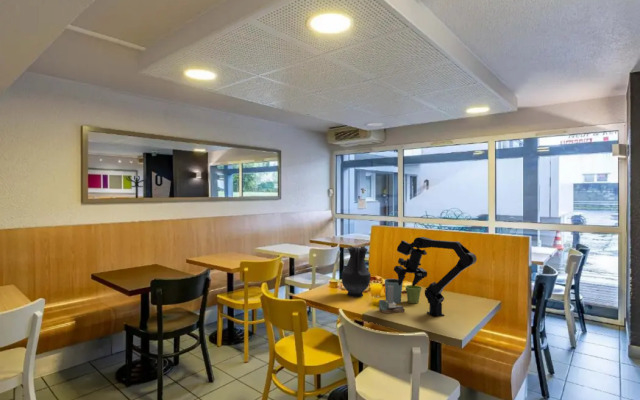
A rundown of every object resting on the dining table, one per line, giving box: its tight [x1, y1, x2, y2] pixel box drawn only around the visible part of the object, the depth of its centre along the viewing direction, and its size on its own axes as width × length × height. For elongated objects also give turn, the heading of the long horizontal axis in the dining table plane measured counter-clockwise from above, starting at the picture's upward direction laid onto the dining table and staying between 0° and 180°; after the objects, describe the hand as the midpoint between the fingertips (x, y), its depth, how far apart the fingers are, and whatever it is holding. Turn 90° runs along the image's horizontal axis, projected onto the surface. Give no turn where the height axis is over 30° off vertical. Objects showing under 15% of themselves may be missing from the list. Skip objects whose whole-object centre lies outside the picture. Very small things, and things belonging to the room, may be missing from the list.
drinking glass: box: [384, 278, 404, 304], centre depth 209 cm, size 10×10×12 cm
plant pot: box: [404, 284, 423, 304], centre depth 209 cm, size 9×9×9 cm
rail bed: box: [378, 299, 405, 314], centre depth 190 cm, size 12×5×6 cm, turn 105°
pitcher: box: [341, 246, 371, 298], centre depth 219 cm, size 17×21×30 cm
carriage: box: [385, 286, 397, 308], centre depth 190 cm, size 4×5×10 cm
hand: (406, 285), depth 197 cm, fingers open, 9 cm apart
